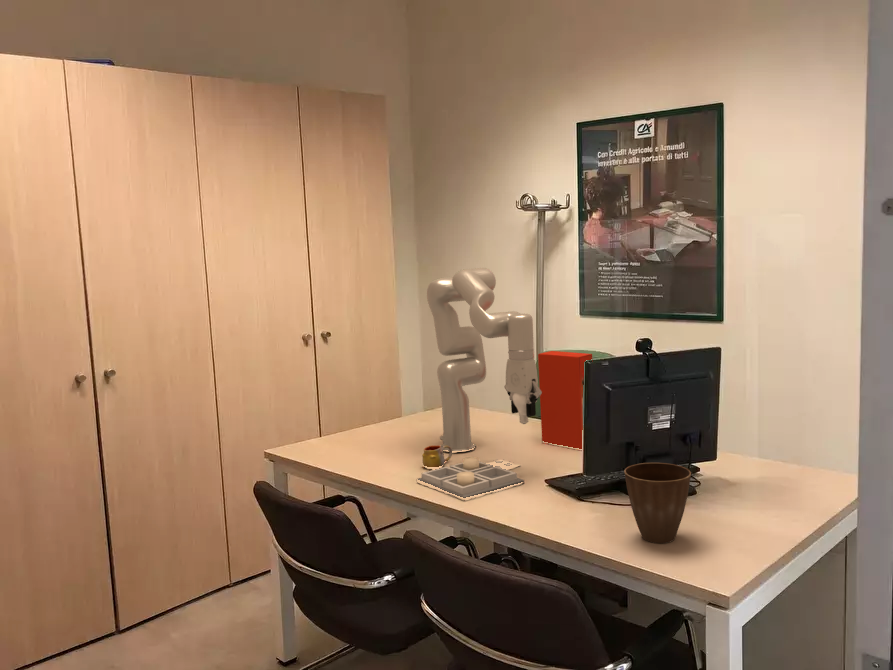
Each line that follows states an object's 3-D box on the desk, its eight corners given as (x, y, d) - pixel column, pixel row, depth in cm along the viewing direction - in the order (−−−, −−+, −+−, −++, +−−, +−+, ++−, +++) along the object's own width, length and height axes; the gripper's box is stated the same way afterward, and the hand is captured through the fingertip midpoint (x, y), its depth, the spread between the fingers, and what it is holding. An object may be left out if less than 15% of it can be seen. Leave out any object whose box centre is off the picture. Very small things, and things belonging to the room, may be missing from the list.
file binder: (581, 451, 259) (578, 356, 255) (541, 443, 271) (537, 353, 268) (595, 446, 264) (592, 353, 260) (556, 438, 277) (552, 350, 273)
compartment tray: (416, 482, 233) (415, 466, 233) (474, 467, 246) (473, 451, 245) (464, 501, 214) (463, 483, 213) (524, 483, 227) (523, 466, 226)
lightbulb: (519, 420, 237) (517, 385, 235) (538, 422, 233) (536, 386, 232) (510, 425, 231) (508, 389, 230) (529, 427, 228) (528, 390, 227)
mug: (432, 472, 244) (431, 451, 243) (418, 467, 249) (417, 447, 248) (460, 463, 252) (459, 443, 251) (446, 459, 257) (445, 440, 256)
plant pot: (659, 521, 191) (658, 458, 189) (706, 540, 178) (705, 472, 176) (613, 534, 184) (611, 469, 182) (657, 555, 171) (655, 485, 169)
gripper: (493, 354, 234) (495, 412, 237) (531, 359, 221) (534, 421, 223) (511, 351, 239) (513, 408, 241) (550, 356, 225) (552, 416, 227)
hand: (523, 413), depth 232 cm, fingers closed on lightbulb, 6 cm apart
